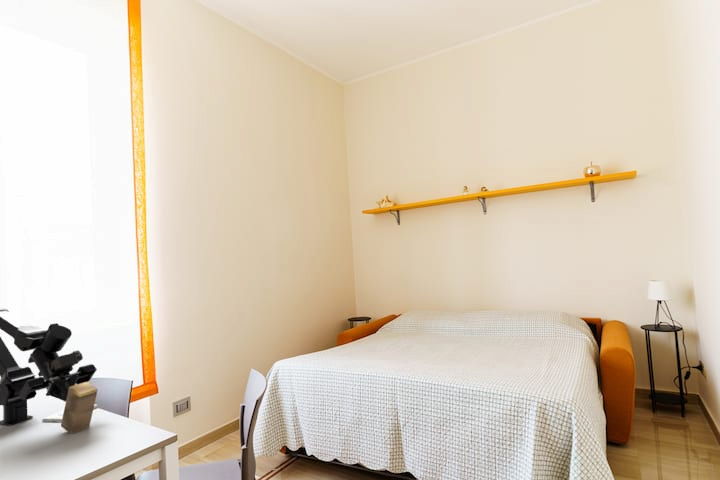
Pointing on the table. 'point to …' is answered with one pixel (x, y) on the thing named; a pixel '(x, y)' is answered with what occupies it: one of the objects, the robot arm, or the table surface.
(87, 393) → the walnut block
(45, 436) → the table surface
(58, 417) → the external hard drive
